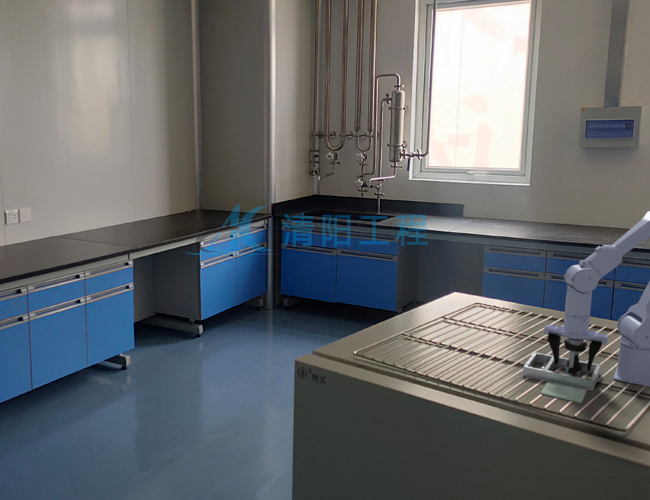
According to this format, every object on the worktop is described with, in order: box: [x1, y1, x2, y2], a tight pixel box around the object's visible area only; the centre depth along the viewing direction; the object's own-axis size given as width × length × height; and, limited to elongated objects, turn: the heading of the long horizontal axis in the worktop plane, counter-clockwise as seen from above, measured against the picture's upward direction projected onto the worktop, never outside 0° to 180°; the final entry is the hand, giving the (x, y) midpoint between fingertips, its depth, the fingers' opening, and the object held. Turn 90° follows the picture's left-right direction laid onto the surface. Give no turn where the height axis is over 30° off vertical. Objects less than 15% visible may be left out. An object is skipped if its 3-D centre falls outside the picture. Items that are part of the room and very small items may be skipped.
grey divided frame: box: [522, 351, 602, 392], centre depth 153 cm, size 16×12×2 cm
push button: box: [563, 337, 588, 377], centre depth 151 cm, size 7×5×10 cm
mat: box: [540, 381, 588, 404], centre depth 143 cm, size 9×7×1 cm
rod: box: [539, 361, 549, 370], centre depth 155 cm, size 2×8×2 cm
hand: (572, 365), depth 151 cm, fingers open, 7 cm apart
